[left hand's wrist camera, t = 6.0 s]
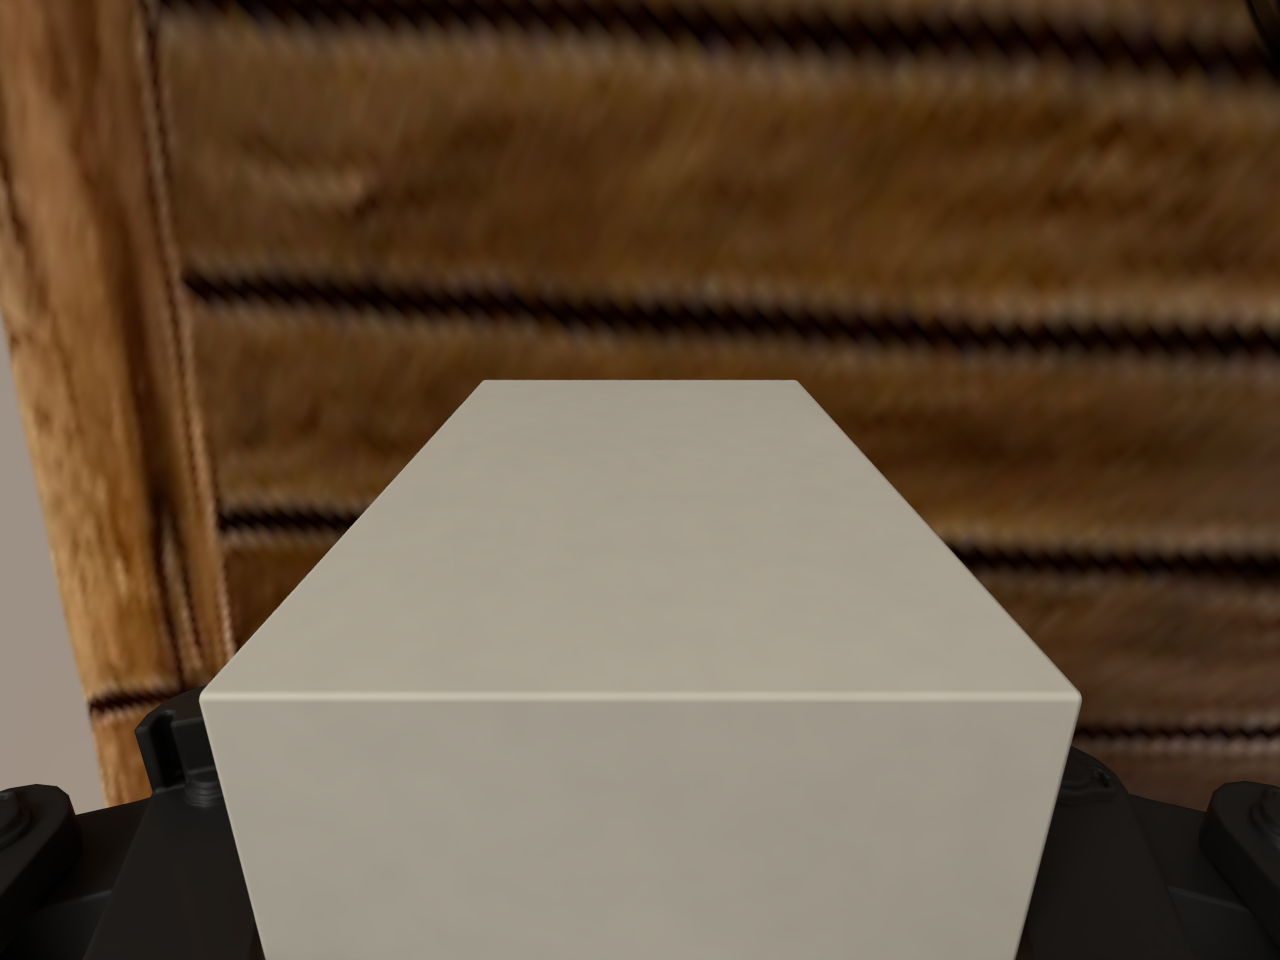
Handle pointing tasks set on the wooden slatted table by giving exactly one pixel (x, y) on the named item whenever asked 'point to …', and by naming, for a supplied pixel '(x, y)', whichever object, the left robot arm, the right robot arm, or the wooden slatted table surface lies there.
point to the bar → (640, 702)
